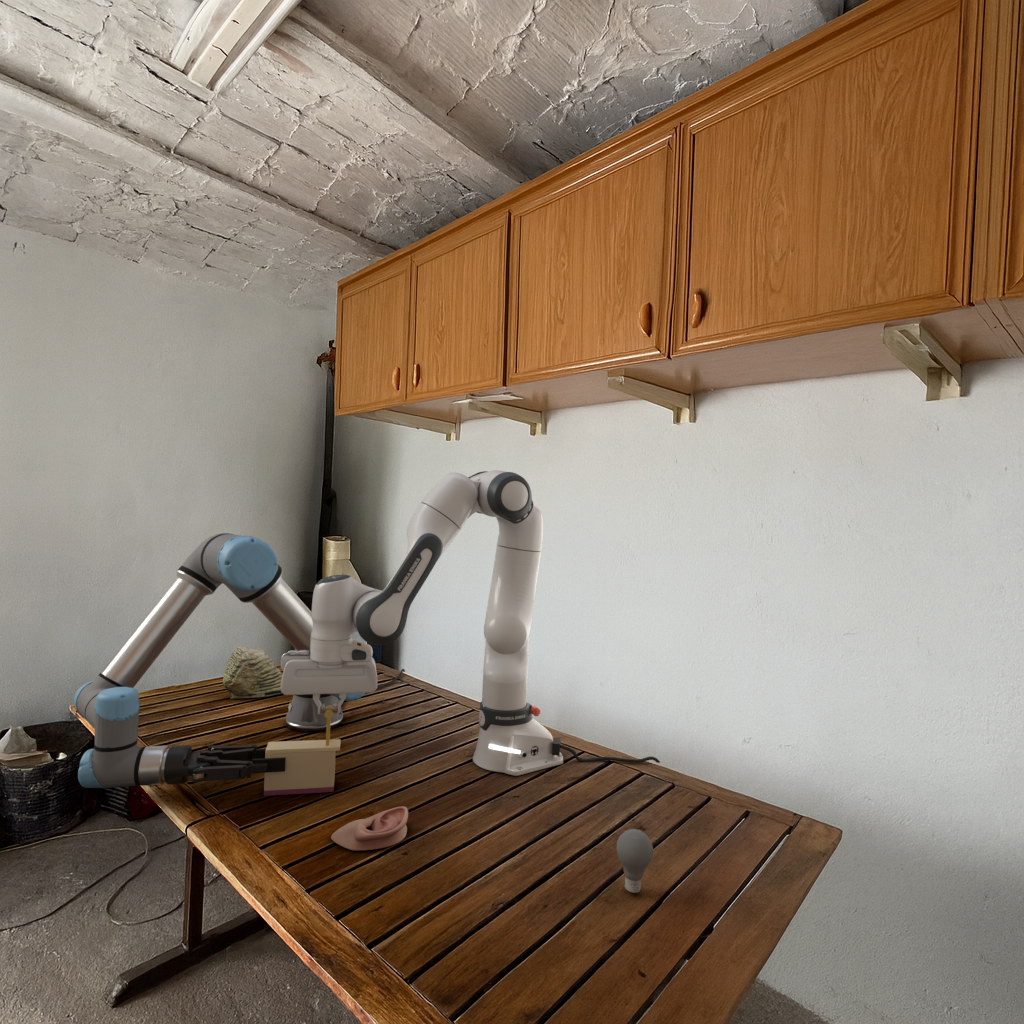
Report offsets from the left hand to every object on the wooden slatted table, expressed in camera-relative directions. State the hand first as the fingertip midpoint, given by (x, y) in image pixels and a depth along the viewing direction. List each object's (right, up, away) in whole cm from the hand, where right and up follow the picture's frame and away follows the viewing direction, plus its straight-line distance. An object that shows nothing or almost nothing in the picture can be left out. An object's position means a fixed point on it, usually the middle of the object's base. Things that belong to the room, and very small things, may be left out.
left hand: (286, 759), depth 136 cm
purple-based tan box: (+3, -7, +1) cm, 7 cm away
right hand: (+9, +9, +2) cm, 13 cm away
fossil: (-32, -4, +62) cm, 70 cm away
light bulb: (+69, -10, -30) cm, 76 cm away
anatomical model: (+22, -8, -17) cm, 29 cm away
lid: (+4, +2, +1) cm, 4 cm away
